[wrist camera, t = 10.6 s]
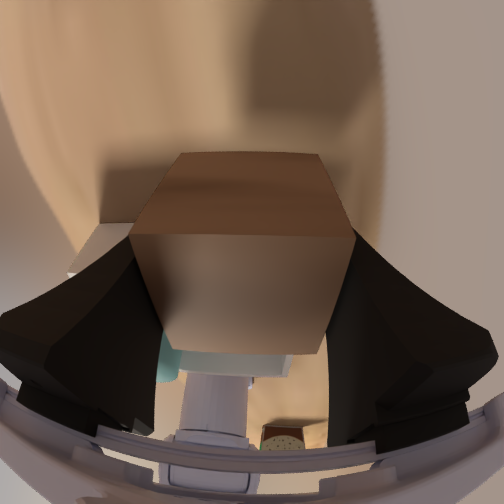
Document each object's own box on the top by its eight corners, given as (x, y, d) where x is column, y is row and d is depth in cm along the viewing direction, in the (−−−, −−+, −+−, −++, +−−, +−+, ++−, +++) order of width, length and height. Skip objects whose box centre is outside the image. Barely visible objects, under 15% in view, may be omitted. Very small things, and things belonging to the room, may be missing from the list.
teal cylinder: (145, 305, 23) (124, 377, 17) (125, 264, 19) (91, 342, 14) (200, 307, 22) (186, 385, 17) (186, 263, 19) (163, 351, 14)
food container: (248, 429, 54) (246, 467, 47) (257, 424, 50) (256, 466, 43) (295, 432, 57) (296, 467, 49) (308, 426, 53) (309, 465, 45)
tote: (285, 328, 25) (287, 377, 21) (140, 320, 25) (127, 363, 21) (300, 224, 17) (310, 283, 13) (99, 223, 18) (66, 272, 14)
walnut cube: (303, 257, 13) (316, 353, 9) (196, 255, 13) (172, 348, 9) (317, 154, 9) (356, 237, 6) (181, 153, 10) (127, 234, 6)
